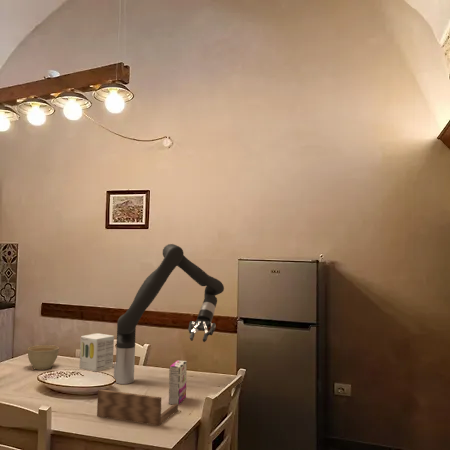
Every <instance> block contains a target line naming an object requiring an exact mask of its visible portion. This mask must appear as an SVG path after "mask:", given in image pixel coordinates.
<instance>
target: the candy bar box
mask: <svg viewBox="0 0 450 450" xmlns="http://www.w3.org/2000/svg"><path fill="white" fill-rule="evenodd" d="M187 368H188V367H187V360H175V362H173V363H172V364H171V365H170V366H169V369H168V370H169V371H168V372H169V374H168V377H169V378H168V385H169V386H168V404H169V405H171V406H172V405H174V404H178V406H180V405H181V403H183V401H184V400H185V399H186V398H187Z"/></svg>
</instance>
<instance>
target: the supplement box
mask: <svg viewBox="0 0 450 450" xmlns="http://www.w3.org/2000/svg"><path fill="white" fill-rule="evenodd" d="M79 344H80V346H79V349H80V351H79V369H82V370H87V371H91V372H99V371H103V370H107V369H112V368H114V351H115V350H114V346H115V335H111V334H106V333H105V334H104V333H99V332H97V333H91V334H86V335H81V336H80V343H79Z"/></svg>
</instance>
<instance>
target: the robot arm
mask: <svg viewBox="0 0 450 450" xmlns="http://www.w3.org/2000/svg"><path fill="white" fill-rule="evenodd" d="M162 256H163V258H162V259H163V260H162V261H161V263H160V264H159V265H158V267H156V269H154V271H153V272H151V273H150V274H149V275H148V276H147V277H146V278H145V280H144V281H143V283H142V284H141V286H140V287H139V289H138V291H137V292H136V294H135V296H134V299H133V301H132V302H131V304H130V305H129V308H127V309H126V312H125V313H124V314H122V315H120V316H119V318H118V319H117V321H116V322H117V323H116V343H115V344H116V350H115V362H113V379H114V378H115V379H116V382H115V384H120V385H126V384H127V385H129V384H133V383H134V382H135V363H136V362H135V360H136V359H135V357H136V331H137V330H136V328H137V325H138V324H139V321H140V320H141V318H142V316H143V314H144V313H145V311H146V310H147V309H148V307H150V305H151V304H152V303H153V301H154V300H155V298H157V296H158V294H159V292H160V291H161V289H162V288H163V286H164V285H165V283H166V282H167V280H168V279H169V277H170V275H171V274H172V272H173V271H174V270H175V269H176V268H177V267H178V268H179V269H181V270H182V272H184V273H186V275H188V277H190V278H191V279H192V280H193V281H194V282H196V284H198V285H199V286H201V287H204V298H203V301H202V305H201V306H200V309H199V312H198V315H197V317H196V321H192V320H190V321H189V324H188V329H187V330H188V333H189V339H190V341H193V340H194V339H195V334H196V333H198V332H199V331H202V332H203V331H204V332H205V333H204V335H203V337H202V342H203V343H205V342H207V340H208V337H209V336H213V334H214V332H215V331H216V327H217V326H216V323H215V322H213V323H212V321H213V318H214V315H215V311H216V307H217V303H218V298H217V296H218V295H220V294H223V292H224V290H225V286H224V284H223V283H222V281H220V280H219V279H217V278H216V277H214V276H211V275H209V274H208V273H207V272H206V271H204V270H203V269H202V268H201V267H199V266H198V265H196V263H194V262H192V261H191V260H190V259H188V258H187V257H186V256H185V255H184V250H183V248H182V247H180V246H179V245H177V244H174V243H168V244H166V245H165V246H164V247H163V249H162Z"/></svg>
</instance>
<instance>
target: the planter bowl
mask: <svg viewBox="0 0 450 450" xmlns="http://www.w3.org/2000/svg"><path fill="white" fill-rule="evenodd" d="M59 350H60V347H59V346H57V345H54V344H53V345H52V344H51V345H50V344H48V345H47V344H42V345H41V344H40V345H34V346H29V347H28V348H27V358H28V361H29V364H30V365H31V366H32V369H34V370H40V371H43V370H49V369H52V367H53V364H54V363H55V362H56V361H57V358H58V355H59Z"/></svg>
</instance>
